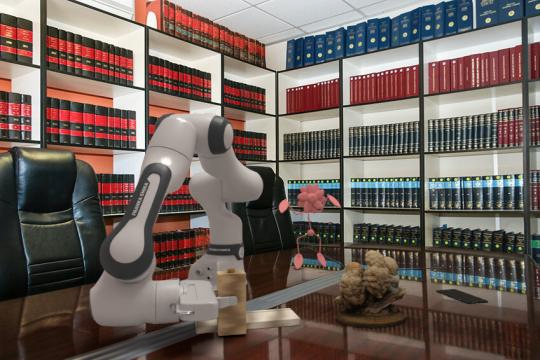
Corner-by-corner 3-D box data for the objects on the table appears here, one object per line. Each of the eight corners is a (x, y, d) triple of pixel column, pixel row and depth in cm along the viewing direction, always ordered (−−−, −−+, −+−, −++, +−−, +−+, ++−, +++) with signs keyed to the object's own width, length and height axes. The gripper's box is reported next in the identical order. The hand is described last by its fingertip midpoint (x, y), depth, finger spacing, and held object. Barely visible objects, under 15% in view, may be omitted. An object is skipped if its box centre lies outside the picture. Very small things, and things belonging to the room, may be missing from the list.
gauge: (218, 335, 87) (218, 270, 88) (213, 319, 99) (213, 261, 99) (246, 333, 89) (246, 268, 89) (238, 317, 100) (238, 260, 101)
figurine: (276, 268, 169) (276, 183, 170) (334, 264, 176) (334, 183, 176) (287, 276, 154) (287, 183, 155) (350, 272, 161) (349, 183, 162)
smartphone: (467, 302, 112) (434, 290, 127) (467, 305, 112) (435, 292, 127) (489, 300, 113) (454, 288, 128) (489, 303, 113) (454, 291, 128)
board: (196, 333, 90) (196, 326, 91) (194, 321, 99) (194, 315, 99) (300, 324, 96) (300, 318, 96) (290, 314, 105) (289, 307, 105)
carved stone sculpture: (393, 310, 107) (392, 245, 108) (419, 325, 96) (418, 251, 96) (328, 315, 103) (328, 247, 104) (347, 331, 92) (347, 254, 92)
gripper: (169, 298, 77) (242, 293, 80) (171, 276, 97) (229, 273, 100) (169, 332, 77) (242, 326, 80) (171, 303, 97) (229, 299, 100)
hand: (235, 296), depth 90 cm, fingers closed on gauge, 4 cm apart
